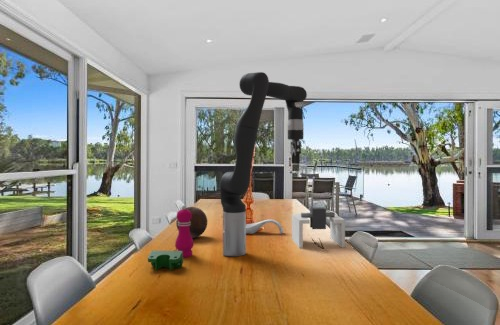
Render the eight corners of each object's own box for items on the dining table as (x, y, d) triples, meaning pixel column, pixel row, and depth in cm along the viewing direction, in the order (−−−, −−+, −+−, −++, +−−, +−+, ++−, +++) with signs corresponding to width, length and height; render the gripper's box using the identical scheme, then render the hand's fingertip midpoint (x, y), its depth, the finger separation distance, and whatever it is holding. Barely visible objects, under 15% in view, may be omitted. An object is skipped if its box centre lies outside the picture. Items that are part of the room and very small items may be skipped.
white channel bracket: (299, 248, 167) (299, 215, 167) (292, 239, 185) (292, 209, 185) (344, 247, 168) (345, 215, 168) (333, 238, 186) (333, 209, 186)
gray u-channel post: (312, 229, 173) (312, 209, 173) (310, 227, 178) (310, 207, 178) (325, 229, 173) (325, 208, 173) (323, 227, 178) (323, 207, 178)
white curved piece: (235, 234, 197) (234, 220, 197) (239, 230, 209) (239, 217, 209) (281, 236, 193) (281, 222, 193) (283, 231, 205) (283, 218, 205)
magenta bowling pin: (197, 254, 157) (196, 204, 157) (186, 258, 151) (186, 207, 150) (182, 252, 160) (181, 204, 160) (171, 256, 154) (171, 206, 153)
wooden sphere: (211, 235, 195) (210, 205, 195) (202, 241, 181) (202, 209, 180) (182, 234, 198) (182, 204, 198) (171, 240, 183) (171, 208, 183)
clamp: (154, 282, 136) (142, 260, 134) (159, 273, 142) (147, 252, 140) (184, 270, 134) (172, 248, 132) (188, 261, 140) (177, 240, 138)
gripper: (285, 130, 193) (285, 163, 194) (290, 128, 179) (290, 163, 179) (300, 130, 194) (300, 163, 194) (306, 128, 180) (306, 163, 180)
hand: (295, 163), depth 187 cm, fingers open, 8 cm apart
